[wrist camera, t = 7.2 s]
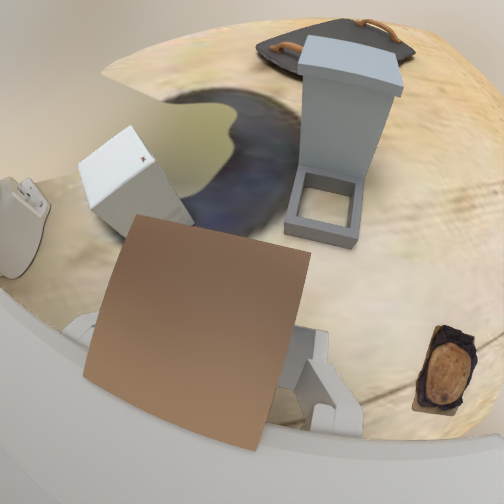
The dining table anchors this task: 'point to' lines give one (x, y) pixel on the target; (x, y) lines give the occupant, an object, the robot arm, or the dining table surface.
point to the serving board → (291, 44)
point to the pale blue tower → (340, 128)
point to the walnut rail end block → (197, 327)
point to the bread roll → (445, 372)
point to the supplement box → (129, 184)
